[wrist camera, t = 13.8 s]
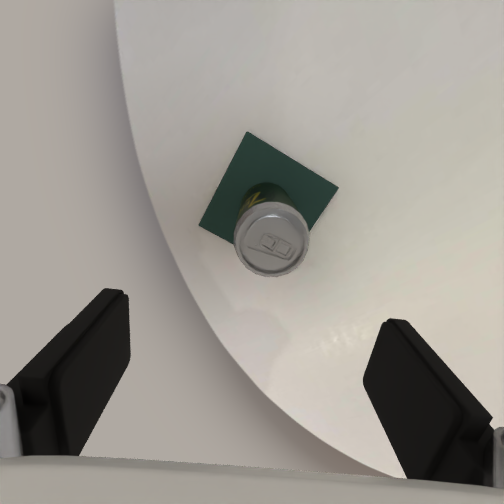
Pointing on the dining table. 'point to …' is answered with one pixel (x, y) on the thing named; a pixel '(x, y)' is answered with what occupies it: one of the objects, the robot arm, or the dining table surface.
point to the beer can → (270, 231)
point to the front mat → (264, 171)
